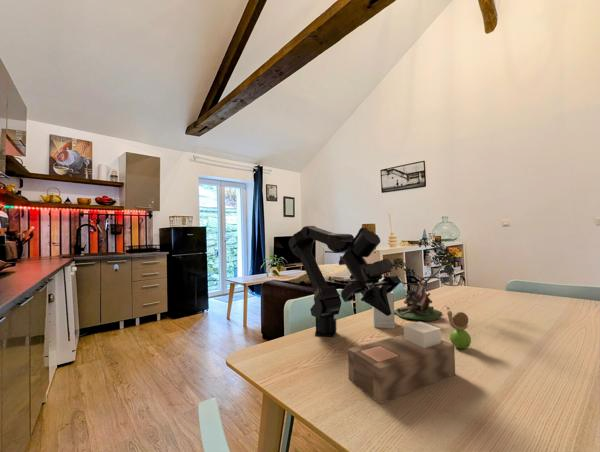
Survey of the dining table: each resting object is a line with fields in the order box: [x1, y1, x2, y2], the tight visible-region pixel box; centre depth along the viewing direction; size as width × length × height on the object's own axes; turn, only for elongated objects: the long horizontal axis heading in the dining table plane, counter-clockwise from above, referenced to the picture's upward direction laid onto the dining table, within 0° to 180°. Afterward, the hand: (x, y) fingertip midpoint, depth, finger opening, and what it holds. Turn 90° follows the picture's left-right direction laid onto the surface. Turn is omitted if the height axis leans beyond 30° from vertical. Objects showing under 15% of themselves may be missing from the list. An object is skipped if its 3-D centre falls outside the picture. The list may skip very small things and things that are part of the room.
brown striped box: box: [347, 334, 456, 404], centre depth 66 cm, size 24×11×7 cm, turn 117°
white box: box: [403, 321, 442, 349], centre depth 69 cm, size 6×6×7 cm
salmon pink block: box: [360, 346, 399, 363], centre depth 62 cm, size 6×6×7 cm
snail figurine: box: [446, 306, 472, 349], centre depth 81 cm, size 5×6×12 cm
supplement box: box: [371, 291, 396, 329], centre depth 102 cm, size 7×7×13 cm
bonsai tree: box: [392, 237, 460, 322], centre depth 112 cm, size 35×24×32 cm
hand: (389, 314), depth 71 cm, fingers closed
